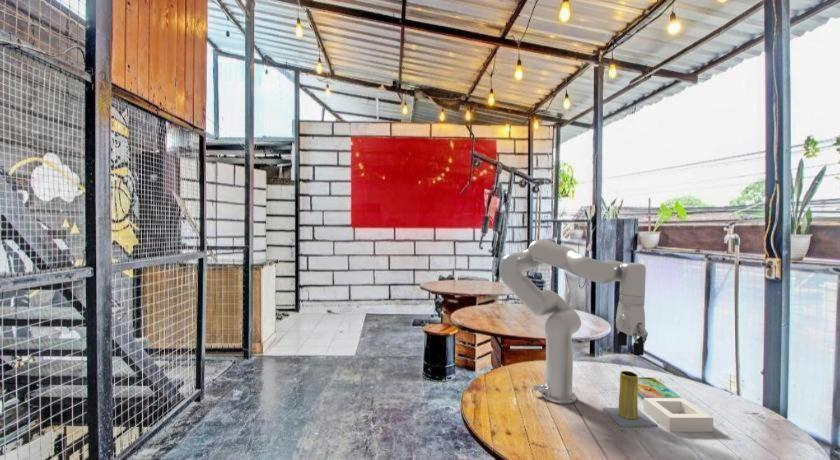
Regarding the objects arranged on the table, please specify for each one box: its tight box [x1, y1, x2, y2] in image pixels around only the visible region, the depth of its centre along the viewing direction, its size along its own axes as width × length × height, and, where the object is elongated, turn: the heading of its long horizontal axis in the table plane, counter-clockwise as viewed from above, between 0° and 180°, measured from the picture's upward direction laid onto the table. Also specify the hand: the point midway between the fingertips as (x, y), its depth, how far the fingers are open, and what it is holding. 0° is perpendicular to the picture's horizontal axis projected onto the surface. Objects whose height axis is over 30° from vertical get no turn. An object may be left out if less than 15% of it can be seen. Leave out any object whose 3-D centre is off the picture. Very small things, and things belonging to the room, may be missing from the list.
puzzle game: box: [637, 376, 683, 401], centre depth 151 cm, size 12×5×20 cm
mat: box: [602, 407, 658, 428], centre depth 134 cm, size 12×12×1 cm
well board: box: [643, 397, 714, 433], centre depth 132 cm, size 14×14×4 cm
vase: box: [618, 370, 639, 420], centre depth 134 cm, size 6×6×14 cm
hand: (629, 349), depth 134 cm, fingers open, 9 cm apart
